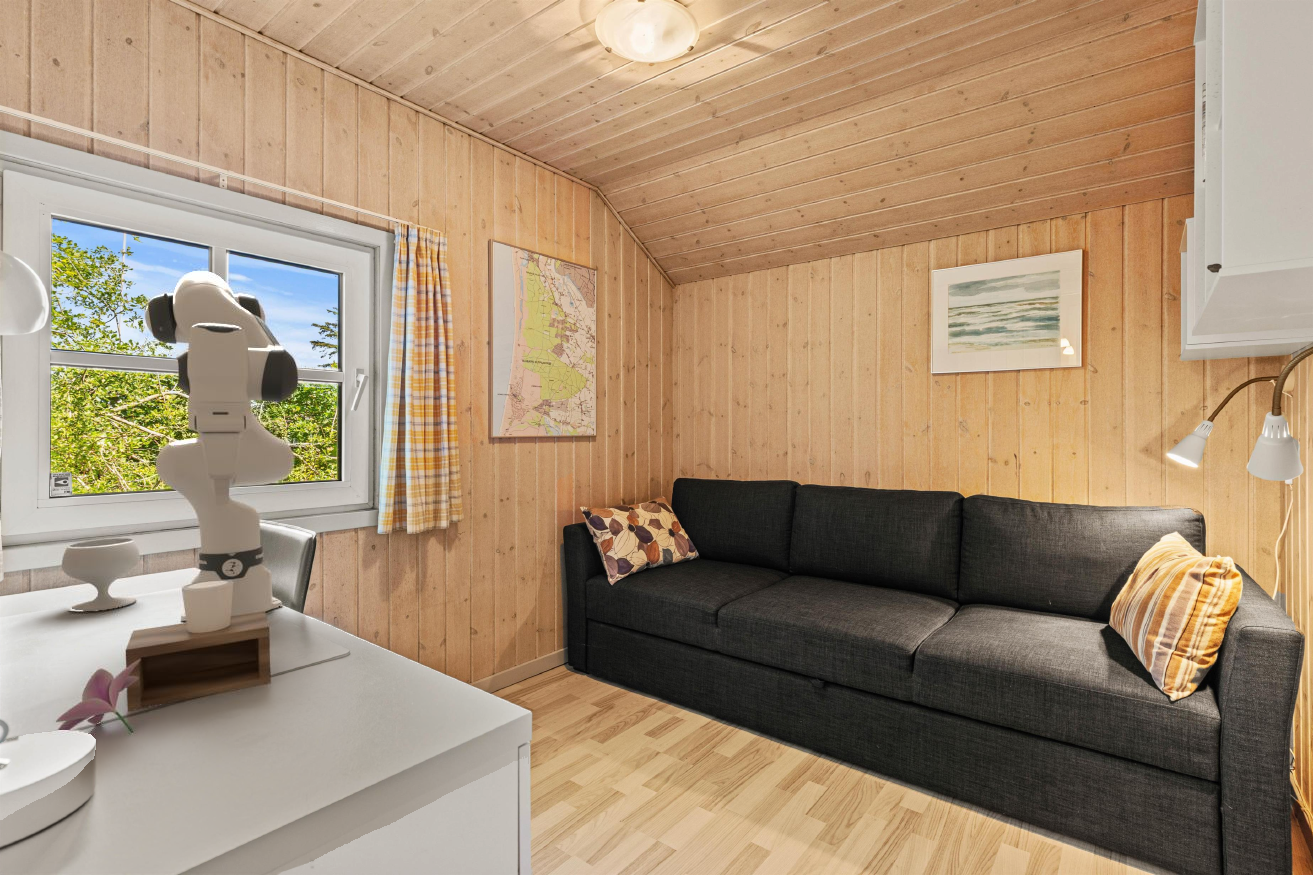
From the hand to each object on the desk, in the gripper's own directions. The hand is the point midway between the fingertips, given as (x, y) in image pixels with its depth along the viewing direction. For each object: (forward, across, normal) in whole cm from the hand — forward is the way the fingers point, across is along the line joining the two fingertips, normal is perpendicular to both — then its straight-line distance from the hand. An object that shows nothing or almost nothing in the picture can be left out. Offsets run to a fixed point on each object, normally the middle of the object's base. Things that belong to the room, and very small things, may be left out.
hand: (222, 500), depth 112 cm
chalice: (+32, -64, -23) cm, 75 cm away
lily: (+28, +20, -14) cm, 37 cm away
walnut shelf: (+28, +8, -3) cm, 30 cm away
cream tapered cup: (+20, +7, -2) cm, 21 cm away
